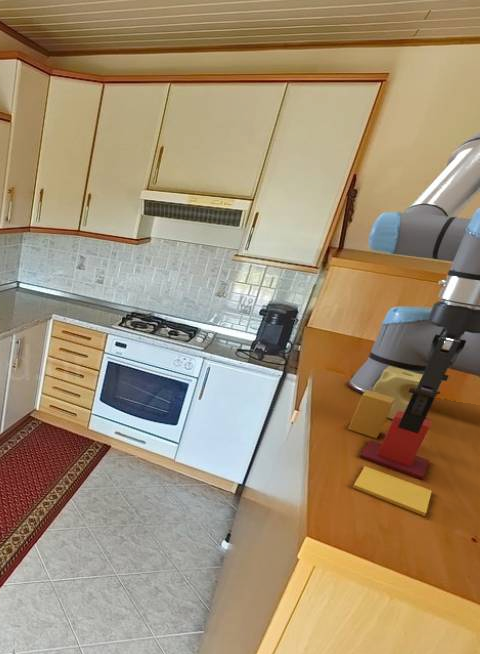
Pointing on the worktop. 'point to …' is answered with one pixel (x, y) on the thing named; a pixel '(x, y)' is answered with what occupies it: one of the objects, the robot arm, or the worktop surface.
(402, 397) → the cheese
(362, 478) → the yellow mat
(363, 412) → the yellow block
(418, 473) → the red mat
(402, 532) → the worktop surface
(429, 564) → the worktop surface
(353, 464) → the worktop surface
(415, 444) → the red block
